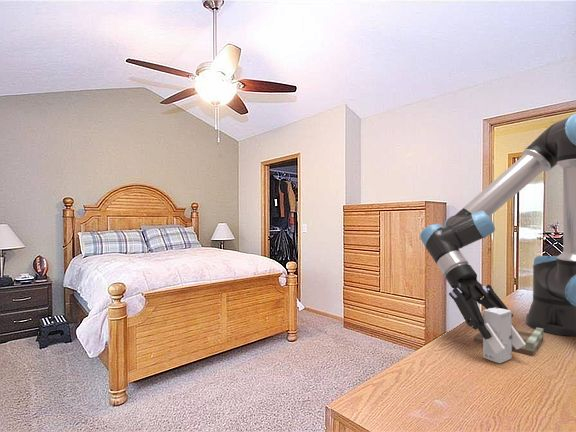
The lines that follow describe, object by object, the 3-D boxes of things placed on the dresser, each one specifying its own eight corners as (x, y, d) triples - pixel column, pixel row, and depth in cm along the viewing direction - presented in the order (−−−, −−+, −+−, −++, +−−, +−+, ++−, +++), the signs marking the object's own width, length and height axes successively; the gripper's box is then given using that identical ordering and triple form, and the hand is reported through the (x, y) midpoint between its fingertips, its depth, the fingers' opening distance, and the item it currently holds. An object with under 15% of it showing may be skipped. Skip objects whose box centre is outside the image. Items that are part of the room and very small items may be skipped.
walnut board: (489, 328, 111) (489, 318, 111) (543, 339, 101) (543, 328, 101) (473, 341, 99) (473, 330, 99) (532, 356, 89) (533, 343, 89)
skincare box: (500, 364, 84) (501, 314, 84) (481, 357, 88) (482, 309, 88) (512, 358, 88) (513, 310, 87) (494, 352, 91) (494, 306, 91)
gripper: (474, 276, 105) (527, 350, 91) (423, 280, 98) (471, 361, 83) (490, 261, 100) (549, 336, 85) (437, 264, 93) (491, 347, 78)
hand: (510, 348), depth 84 cm, fingers closed on skincare box, 6 cm apart
